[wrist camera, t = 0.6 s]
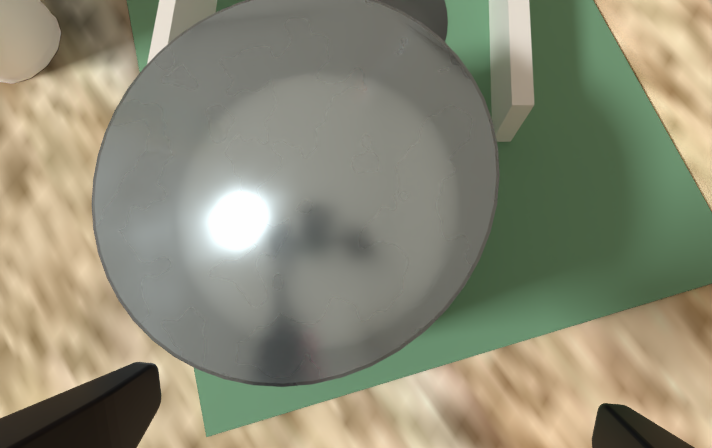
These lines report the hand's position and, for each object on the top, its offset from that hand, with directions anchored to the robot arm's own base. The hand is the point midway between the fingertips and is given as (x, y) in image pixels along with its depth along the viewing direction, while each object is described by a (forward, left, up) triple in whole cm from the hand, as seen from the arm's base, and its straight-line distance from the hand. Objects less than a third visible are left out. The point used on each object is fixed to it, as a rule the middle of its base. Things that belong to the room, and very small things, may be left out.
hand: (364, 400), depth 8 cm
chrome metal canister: (+7, +1, -13) cm, 15 cm away
